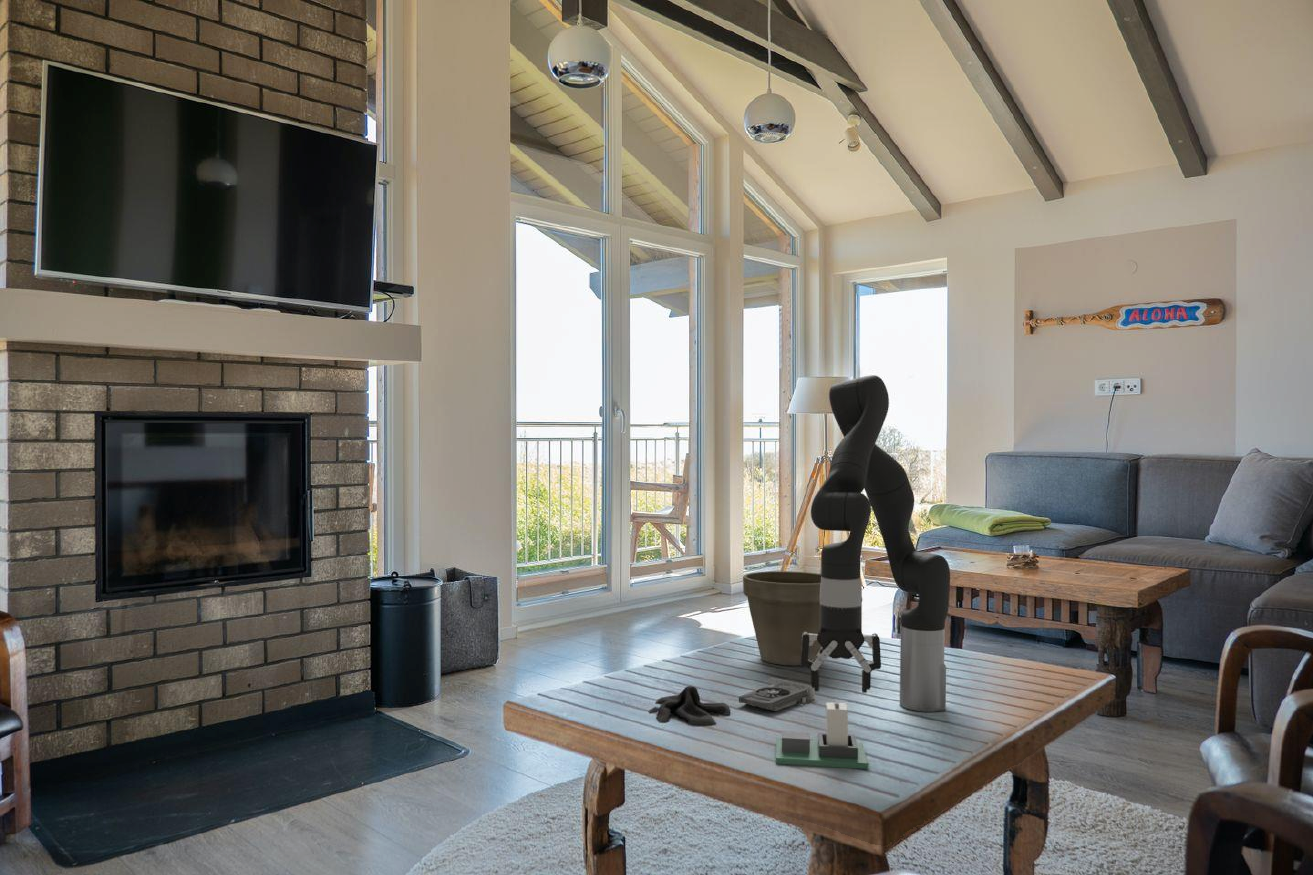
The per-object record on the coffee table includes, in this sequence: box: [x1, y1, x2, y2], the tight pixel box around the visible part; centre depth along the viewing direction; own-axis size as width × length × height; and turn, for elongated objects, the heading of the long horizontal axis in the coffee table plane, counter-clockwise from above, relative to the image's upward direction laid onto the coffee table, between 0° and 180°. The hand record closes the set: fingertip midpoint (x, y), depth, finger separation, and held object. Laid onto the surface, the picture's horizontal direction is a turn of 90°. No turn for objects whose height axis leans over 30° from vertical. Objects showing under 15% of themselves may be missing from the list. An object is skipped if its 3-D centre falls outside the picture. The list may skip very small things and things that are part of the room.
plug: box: [825, 699, 849, 746], centre depth 173 cm, size 4×4×9 cm
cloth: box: [648, 685, 731, 726], centre depth 199 cm, size 22×19×6 cm
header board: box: [775, 730, 869, 770], centre depth 174 cm, size 16×11×4 cm
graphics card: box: [738, 677, 815, 712], centre depth 208 cm, size 17×4×12 cm
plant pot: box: [742, 570, 822, 667], centre depth 247 cm, size 25×25×22 cm
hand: (840, 690), depth 173 cm, fingers open, 8 cm apart
